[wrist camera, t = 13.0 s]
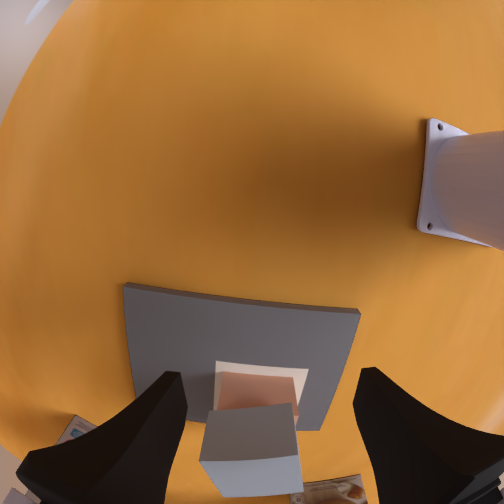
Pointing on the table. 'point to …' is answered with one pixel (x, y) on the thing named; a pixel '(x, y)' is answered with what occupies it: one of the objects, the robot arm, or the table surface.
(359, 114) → the table surface
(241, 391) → the terracotta block
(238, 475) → the slate block
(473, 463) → the robot arm
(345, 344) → the base plate
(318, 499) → the coffee box
